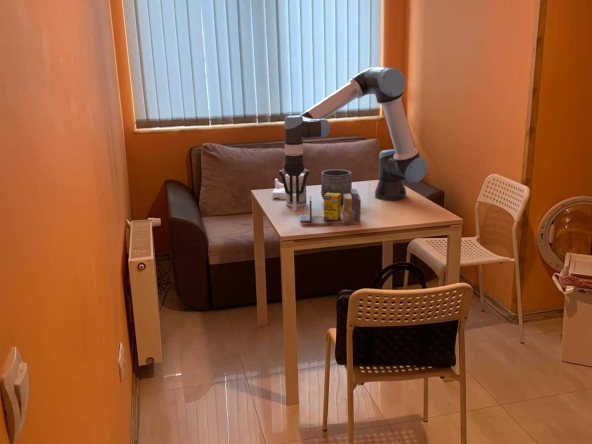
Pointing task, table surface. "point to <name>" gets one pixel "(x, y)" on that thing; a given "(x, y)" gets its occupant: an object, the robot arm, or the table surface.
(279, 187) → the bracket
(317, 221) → the board
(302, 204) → the supplement tub
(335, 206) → the supplement box
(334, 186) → the planter
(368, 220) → the table surface
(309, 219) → the bookend
